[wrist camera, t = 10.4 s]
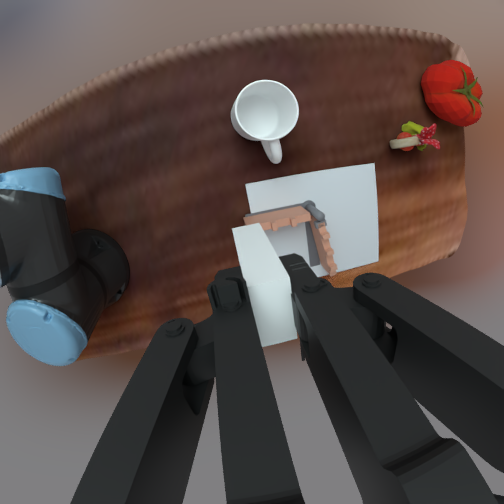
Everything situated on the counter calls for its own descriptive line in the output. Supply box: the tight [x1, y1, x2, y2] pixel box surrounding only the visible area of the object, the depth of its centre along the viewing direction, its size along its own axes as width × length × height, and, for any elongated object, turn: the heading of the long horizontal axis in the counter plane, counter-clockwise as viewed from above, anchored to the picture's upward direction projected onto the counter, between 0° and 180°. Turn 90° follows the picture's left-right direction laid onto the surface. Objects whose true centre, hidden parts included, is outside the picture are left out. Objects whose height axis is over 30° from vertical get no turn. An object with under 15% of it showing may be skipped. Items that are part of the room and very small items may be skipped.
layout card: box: [245, 163, 378, 277], centre depth 51 cm, size 25×20×1 cm
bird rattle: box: [390, 121, 440, 151], centre depth 42 cm, size 6×11×9 cm
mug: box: [231, 80, 299, 164], centre depth 38 cm, size 12×8×10 cm
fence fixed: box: [243, 204, 325, 231], centre depth 46 cm, size 12×1×7 cm, turn 100°
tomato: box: [421, 60, 483, 127], centre depth 38 cm, size 13×14×12 cm
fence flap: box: [309, 215, 338, 276], centre depth 48 cm, size 10×2×6 cm, turn 19°
